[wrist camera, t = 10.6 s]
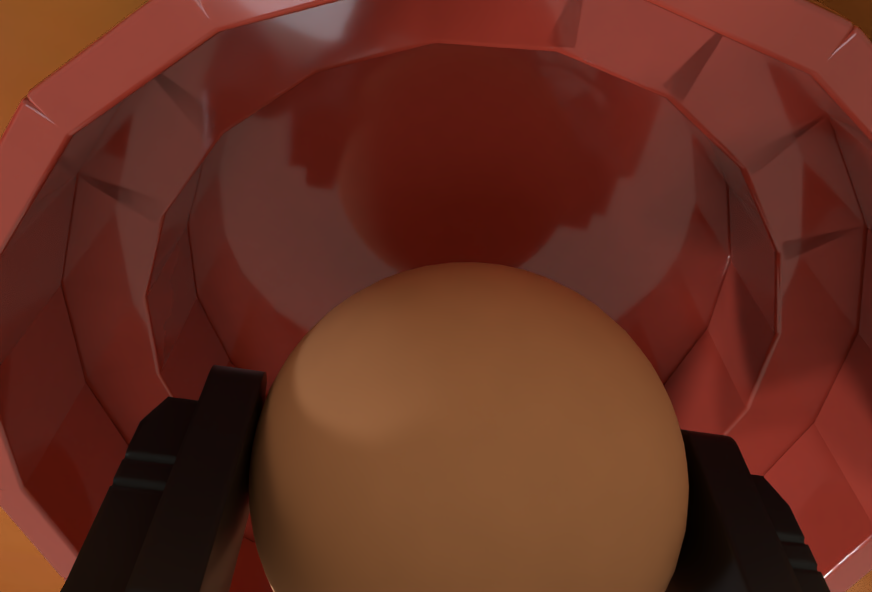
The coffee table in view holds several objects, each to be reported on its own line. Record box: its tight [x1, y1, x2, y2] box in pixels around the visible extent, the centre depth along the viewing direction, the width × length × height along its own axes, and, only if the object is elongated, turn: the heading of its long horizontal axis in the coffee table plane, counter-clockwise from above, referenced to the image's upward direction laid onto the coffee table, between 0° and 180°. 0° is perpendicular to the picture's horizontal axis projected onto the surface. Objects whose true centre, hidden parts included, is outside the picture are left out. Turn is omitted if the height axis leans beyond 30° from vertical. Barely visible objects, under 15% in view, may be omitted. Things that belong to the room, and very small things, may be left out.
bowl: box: [0, 0, 872, 592], centre depth 13 cm, size 14×14×6 cm
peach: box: [249, 262, 689, 592], centre depth 10 cm, size 6×6×7 cm
